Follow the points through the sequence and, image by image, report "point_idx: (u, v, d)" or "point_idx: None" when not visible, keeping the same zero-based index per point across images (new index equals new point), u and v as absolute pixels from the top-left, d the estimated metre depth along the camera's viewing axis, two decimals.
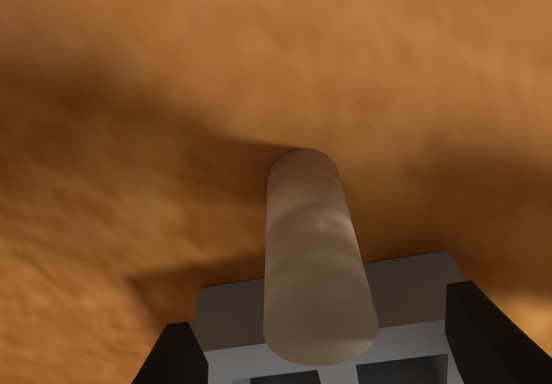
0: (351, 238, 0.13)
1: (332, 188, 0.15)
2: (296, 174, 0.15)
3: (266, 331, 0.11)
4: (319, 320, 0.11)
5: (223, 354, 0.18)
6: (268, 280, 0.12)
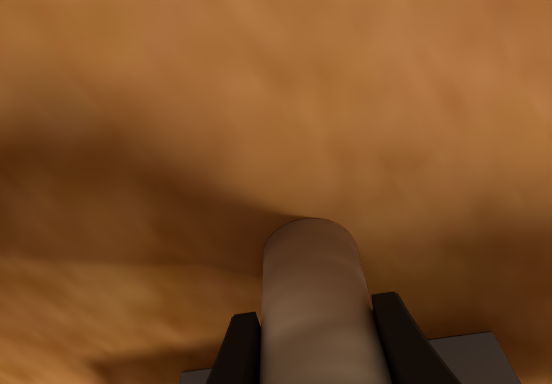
0: (385, 382, 0.09)
1: (352, 286, 0.11)
2: (302, 262, 0.11)
3: None
4: None
5: None
6: None
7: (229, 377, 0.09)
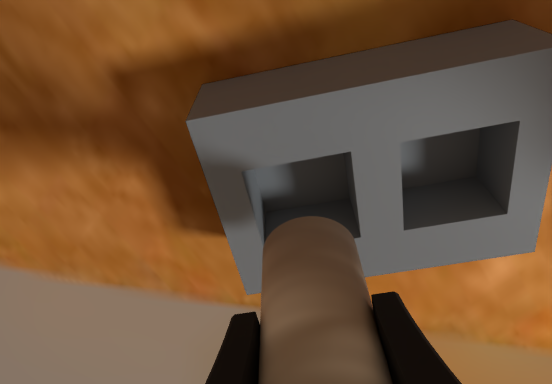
0: (385, 380, 0.09)
1: (353, 284, 0.11)
2: (303, 259, 0.11)
3: None
4: None
5: (232, 121, 0.14)
6: None
7: (229, 377, 0.09)
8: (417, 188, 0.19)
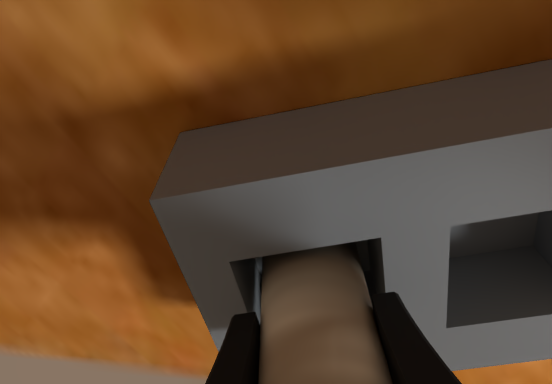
0: (385, 380, 0.09)
1: (353, 284, 0.11)
2: (303, 259, 0.11)
3: None
4: None
5: (215, 201, 0.10)
6: None
7: (229, 377, 0.09)
8: (457, 260, 0.15)
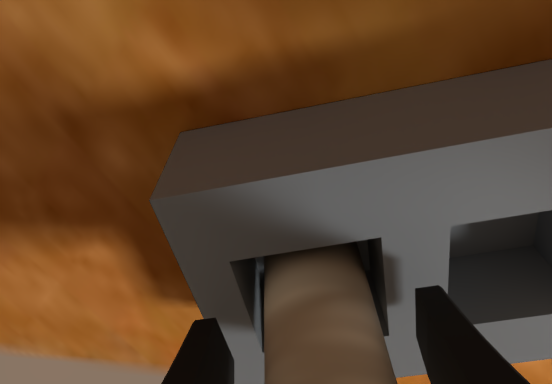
0: (381, 347, 0.10)
1: (350, 263, 0.11)
2: None
3: None
4: None
5: (215, 201, 0.10)
6: None
7: (181, 383, 0.09)
8: (457, 260, 0.15)
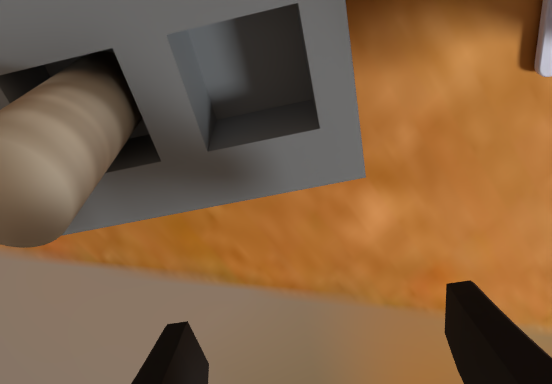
0: (84, 113, 0.12)
1: (101, 77, 0.14)
2: (70, 66, 0.14)
3: None
4: None
5: None
6: None
7: None
8: (247, 114, 0.17)
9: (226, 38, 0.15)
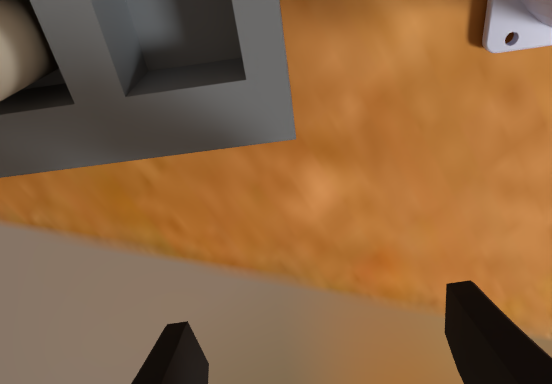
0: None
1: (0, 0, 0.12)
2: None
3: None
4: None
5: None
6: None
7: None
8: (180, 66, 0.16)
9: None
